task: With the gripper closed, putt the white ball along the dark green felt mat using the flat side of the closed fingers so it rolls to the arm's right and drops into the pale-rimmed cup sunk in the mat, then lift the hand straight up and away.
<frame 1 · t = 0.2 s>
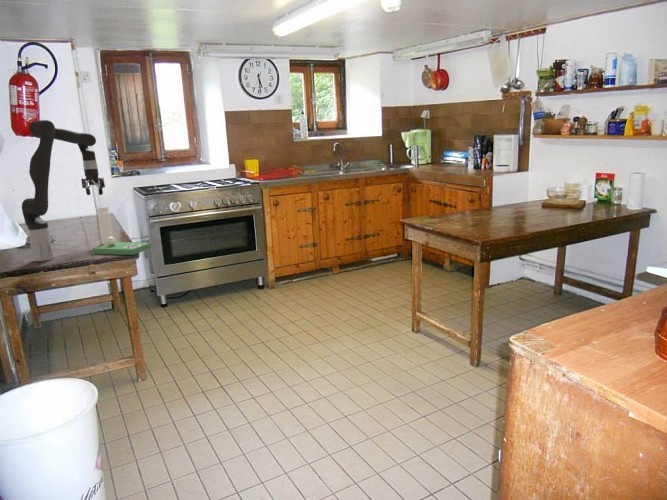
hand: (94, 194, 301), 29 cm above the table, fingers open, 8 cm apart
milk: (108, 243, 300), on the table
ball: (111, 241, 279), point 5 cm above the table, touching green
green: (123, 250, 278), on the table
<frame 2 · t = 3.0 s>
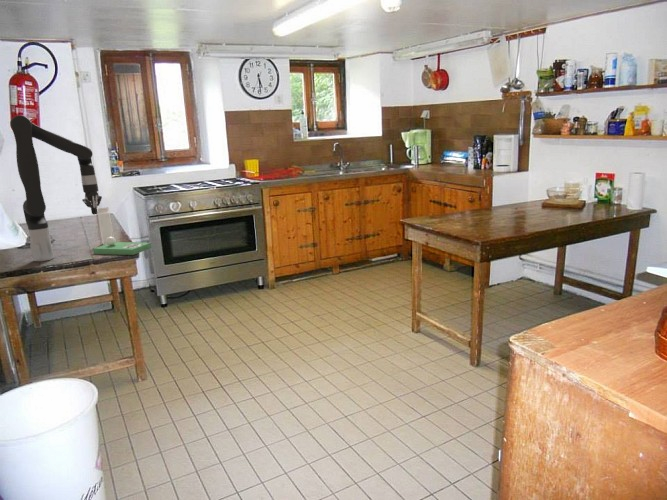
hand: (94, 214, 278), 21 cm above the table, fingers closed
nothing on the table moved.
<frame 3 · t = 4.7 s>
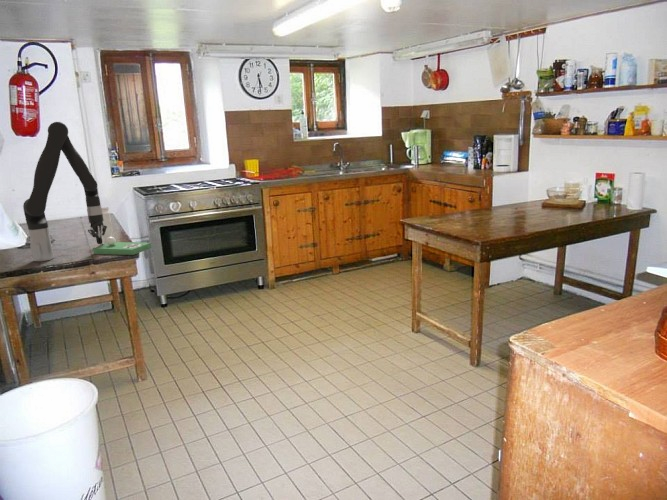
hand: (100, 243, 282), 4 cm above the table, fingers closed
nothing on the table moved.
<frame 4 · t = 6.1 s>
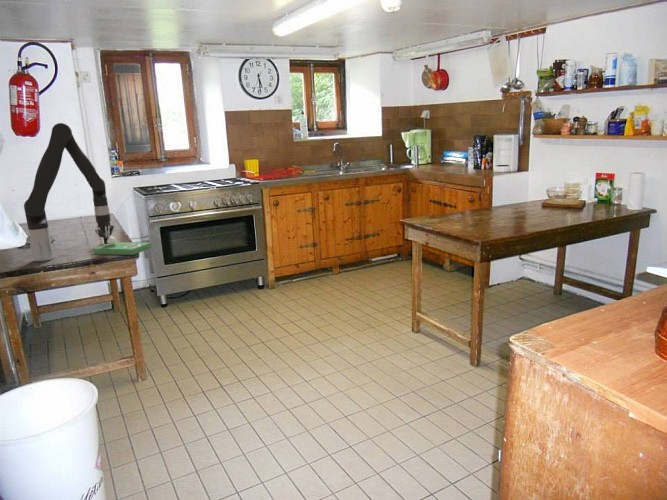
hand: (107, 243, 280), 4 cm above the table, fingers closed
ball: (111, 241, 279), point 5 cm above the table, tilted 10°, touching green, gripper
everything else where it was.
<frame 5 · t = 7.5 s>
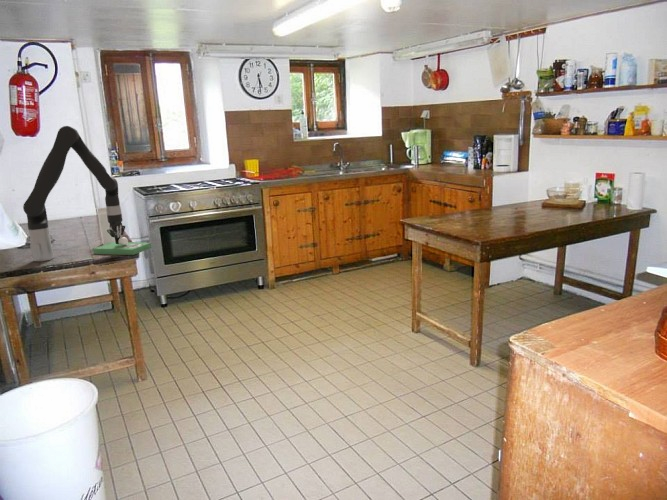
hand: (118, 243, 278), 4 cm above the table, fingers closed
ball: (123, 241, 277), point 6 cm above the table, tilted 133°, touching gripper
everything else where it was.
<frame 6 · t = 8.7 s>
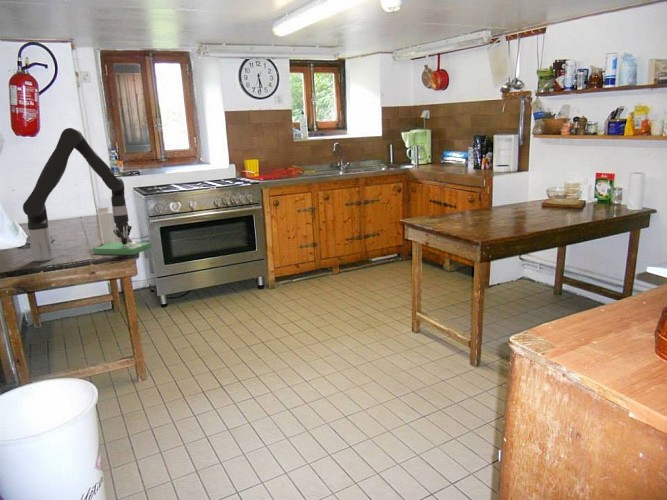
hand: (125, 244, 277), 4 cm above the table, fingers closed
ball: (133, 246, 276), point 2 cm above the table, tilted 67°
everything else where it was.
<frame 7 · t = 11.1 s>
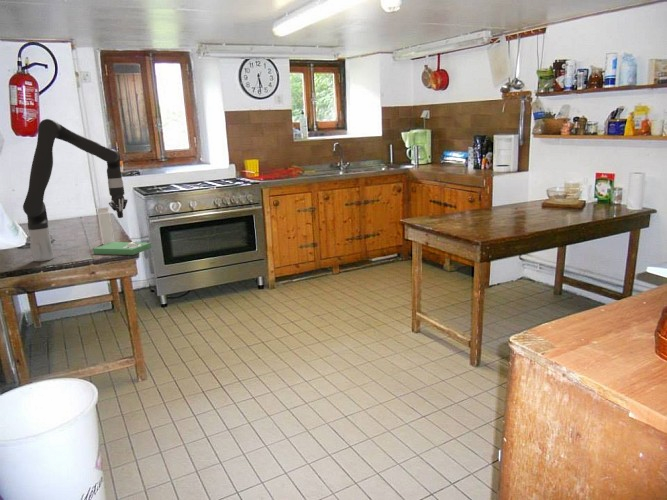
hand: (120, 217, 273), 19 cm above the table, fingers closed
ball: (131, 246, 276), point 2 cm above the table, tilted 89°
everything else where it was.
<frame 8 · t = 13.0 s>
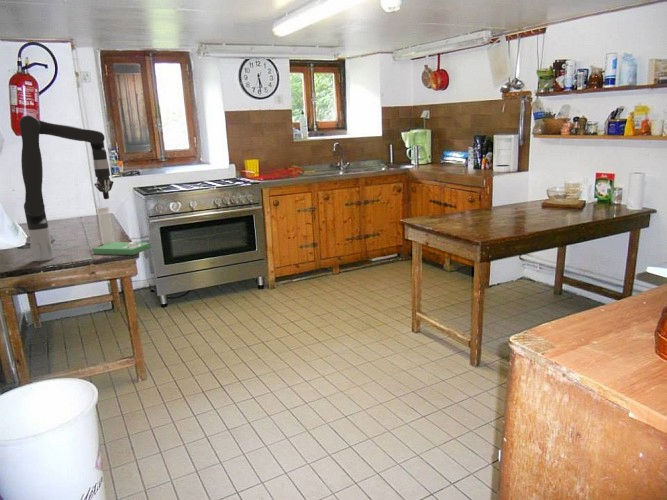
hand: (106, 198, 278), 29 cm above the table, fingers closed
nothing on the table moved.
at the end: ball 0.5 cm from the target spot in the green, point 2.5 cm above the green's base; ball touching table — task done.
